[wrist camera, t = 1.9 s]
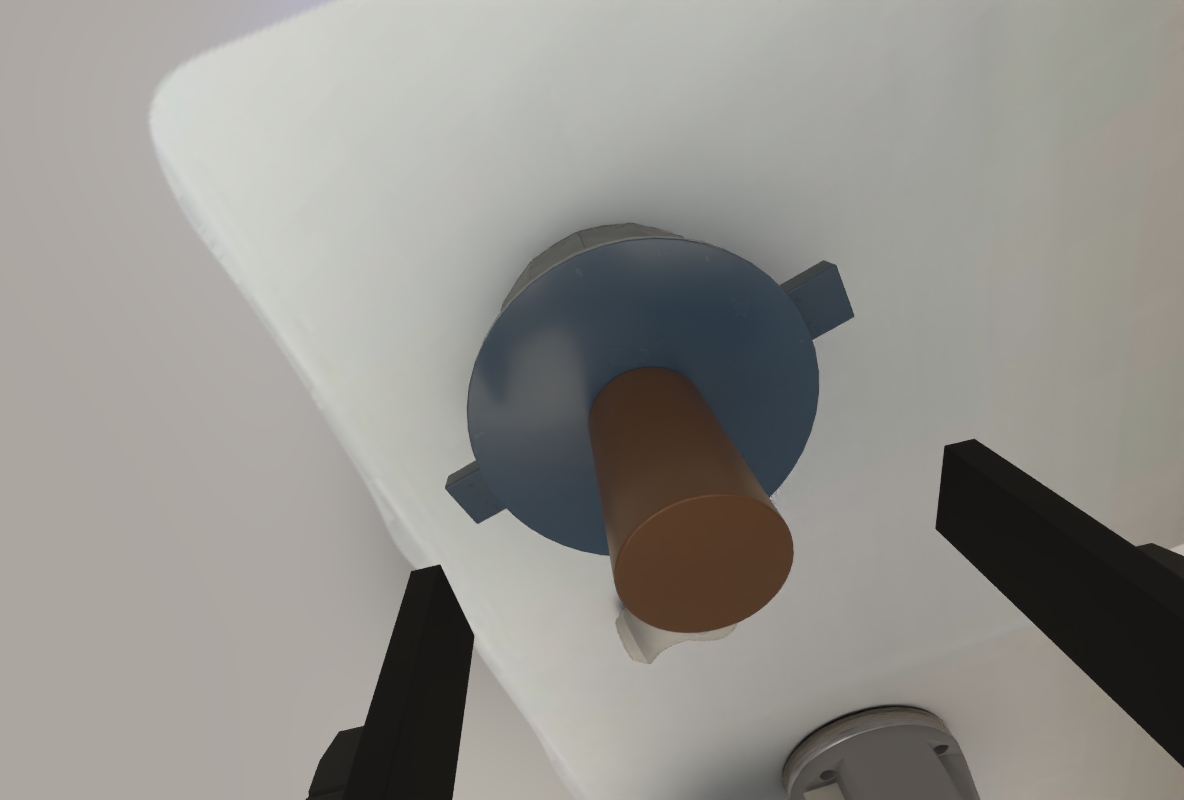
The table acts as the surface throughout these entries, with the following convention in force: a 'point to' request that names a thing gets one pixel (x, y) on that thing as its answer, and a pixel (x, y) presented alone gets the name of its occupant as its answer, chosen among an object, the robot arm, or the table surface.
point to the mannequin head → (656, 637)
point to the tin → (809, 291)
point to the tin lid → (652, 421)
